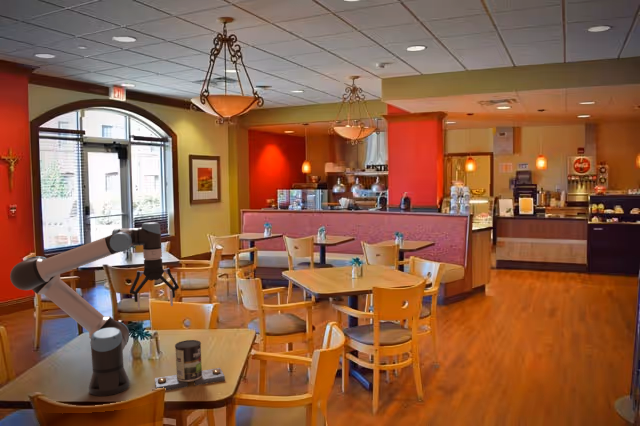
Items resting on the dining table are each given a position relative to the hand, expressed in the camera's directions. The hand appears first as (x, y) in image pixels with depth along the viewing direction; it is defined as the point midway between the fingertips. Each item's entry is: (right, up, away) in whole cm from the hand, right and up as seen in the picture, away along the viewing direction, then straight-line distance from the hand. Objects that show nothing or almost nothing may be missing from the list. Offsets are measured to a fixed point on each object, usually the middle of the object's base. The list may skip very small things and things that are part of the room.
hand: (155, 307), depth 228 cm
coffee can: (+17, -27, -10) cm, 34 cm away
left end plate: (+10, -30, -12) cm, 34 cm away
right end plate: (+24, -29, -7) cm, 38 cm away
